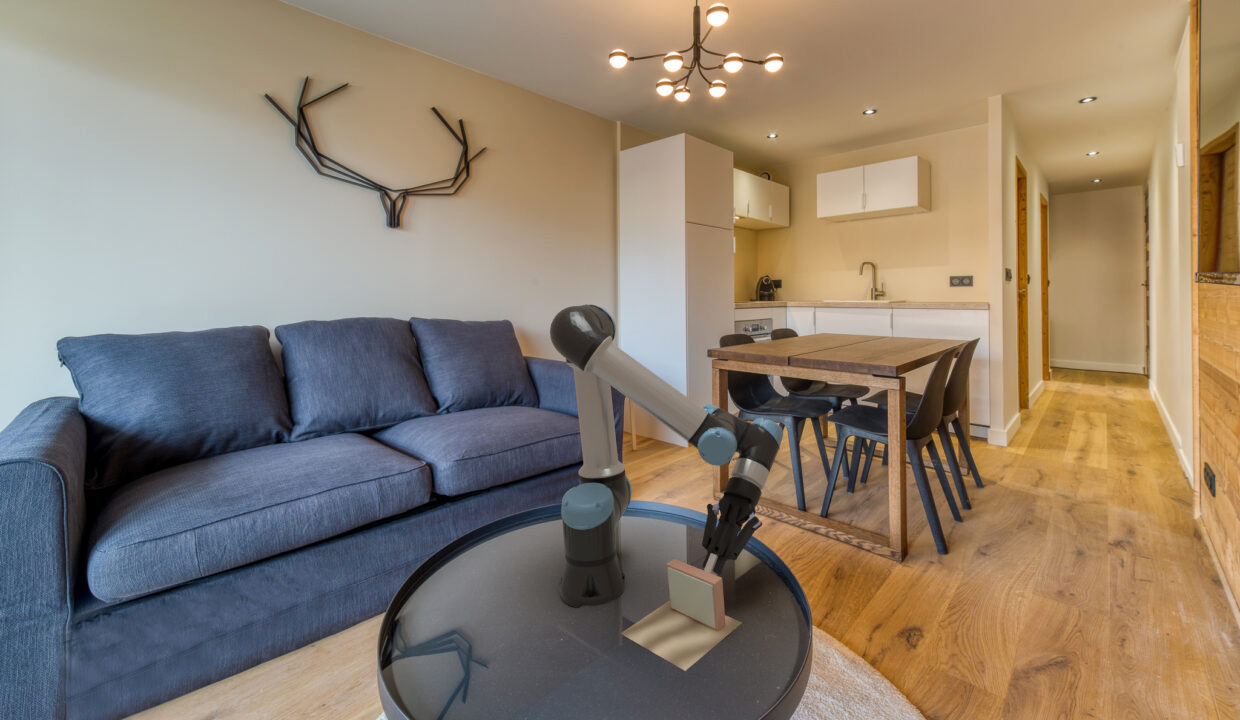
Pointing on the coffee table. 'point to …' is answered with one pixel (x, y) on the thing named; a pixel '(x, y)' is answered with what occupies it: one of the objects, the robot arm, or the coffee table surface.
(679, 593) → the terracotta tile
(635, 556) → the coffee table surface
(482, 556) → the coffee table surface
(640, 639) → the oak board
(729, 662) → the coffee table surface
